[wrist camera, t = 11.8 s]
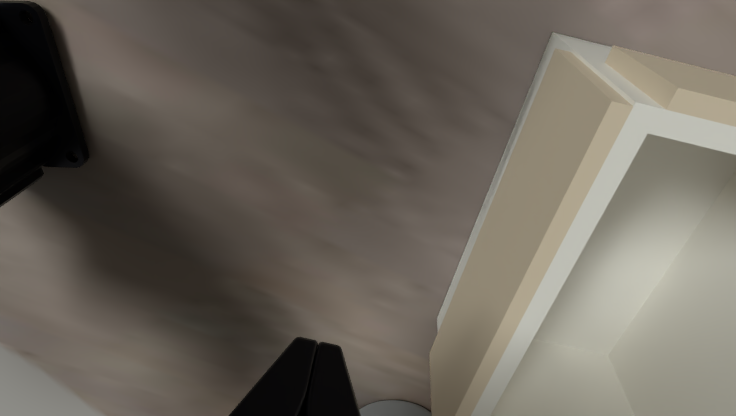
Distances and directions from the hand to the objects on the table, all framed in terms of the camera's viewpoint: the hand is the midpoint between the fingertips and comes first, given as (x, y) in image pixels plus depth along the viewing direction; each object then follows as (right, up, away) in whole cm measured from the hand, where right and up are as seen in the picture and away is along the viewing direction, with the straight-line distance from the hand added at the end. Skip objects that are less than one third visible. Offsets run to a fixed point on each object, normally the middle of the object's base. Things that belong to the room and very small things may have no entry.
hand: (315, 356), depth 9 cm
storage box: (+10, +2, +12) cm, 16 cm away
